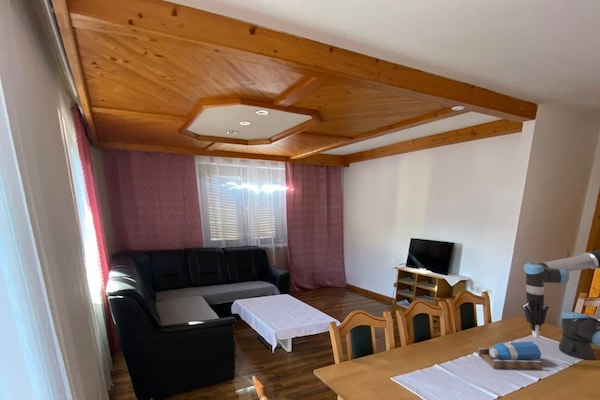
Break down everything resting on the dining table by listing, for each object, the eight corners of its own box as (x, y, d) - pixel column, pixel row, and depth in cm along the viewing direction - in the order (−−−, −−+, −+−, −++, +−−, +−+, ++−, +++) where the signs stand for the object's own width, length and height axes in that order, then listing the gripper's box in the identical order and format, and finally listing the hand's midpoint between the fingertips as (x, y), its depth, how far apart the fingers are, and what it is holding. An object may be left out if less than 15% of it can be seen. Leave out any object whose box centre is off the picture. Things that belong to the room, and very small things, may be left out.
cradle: (522, 356, 158) (522, 349, 158) (541, 370, 144) (541, 361, 145) (478, 355, 158) (478, 348, 158) (494, 369, 145) (494, 360, 145)
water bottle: (539, 344, 149) (497, 346, 146) (543, 363, 147) (500, 365, 144) (523, 339, 158) (484, 341, 155) (527, 357, 156) (486, 359, 153)
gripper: (541, 291, 156) (542, 333, 155) (517, 290, 156) (518, 333, 155) (553, 295, 148) (554, 339, 148) (528, 294, 149) (529, 339, 148)
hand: (535, 336), depth 151 cm, fingers closed
